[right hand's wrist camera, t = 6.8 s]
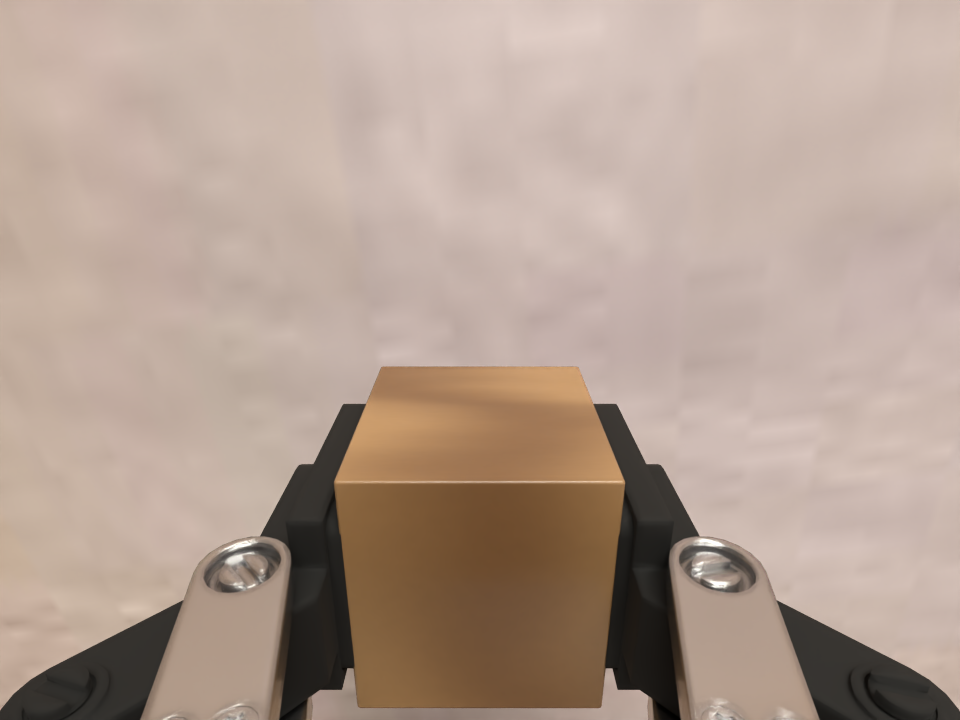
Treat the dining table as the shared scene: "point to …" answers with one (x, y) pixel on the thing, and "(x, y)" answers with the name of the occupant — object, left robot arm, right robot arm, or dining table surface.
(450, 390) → the cube
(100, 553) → the dining table surface
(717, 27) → the dining table surface
